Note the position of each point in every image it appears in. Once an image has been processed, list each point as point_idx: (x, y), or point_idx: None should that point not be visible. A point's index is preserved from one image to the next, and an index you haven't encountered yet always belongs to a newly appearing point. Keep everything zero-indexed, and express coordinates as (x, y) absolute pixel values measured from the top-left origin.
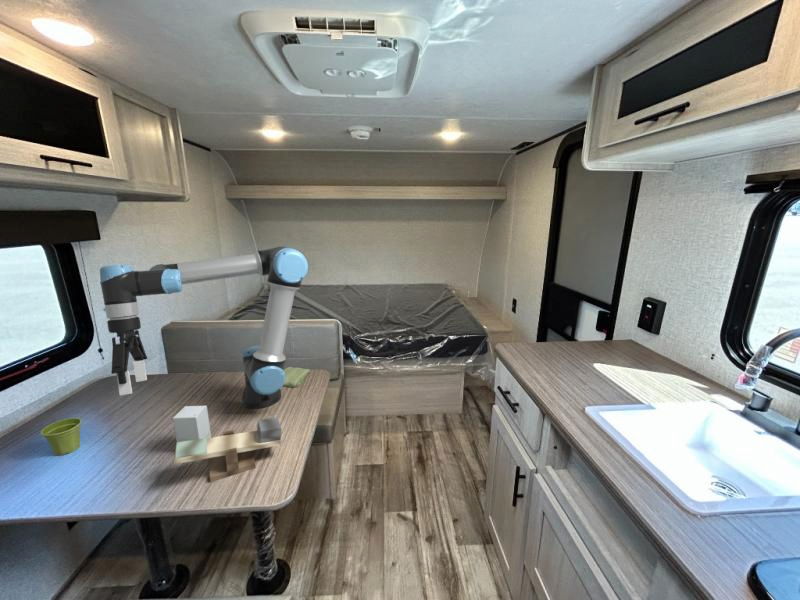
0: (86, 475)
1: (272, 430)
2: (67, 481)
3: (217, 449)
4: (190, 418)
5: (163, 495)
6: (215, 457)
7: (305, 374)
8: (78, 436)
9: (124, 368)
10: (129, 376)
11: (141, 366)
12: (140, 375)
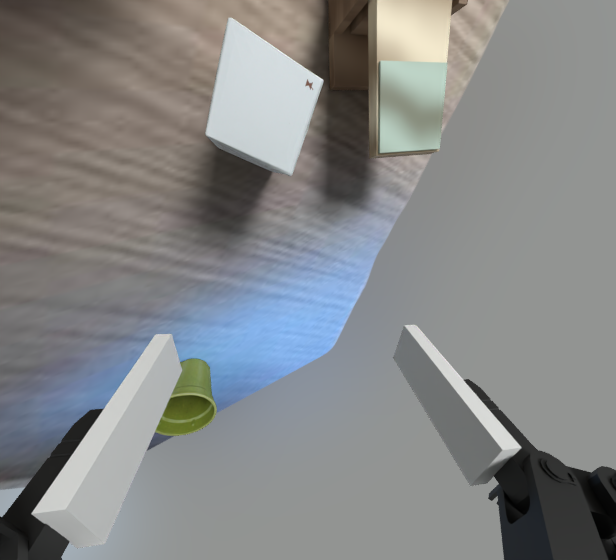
0: (283, 311)
1: None
2: (287, 327)
3: (439, 29)
4: (314, 106)
5: (390, 180)
6: (351, 67)
7: None
8: (186, 374)
9: (575, 490)
10: (468, 402)
11: (118, 444)
12: (162, 383)
